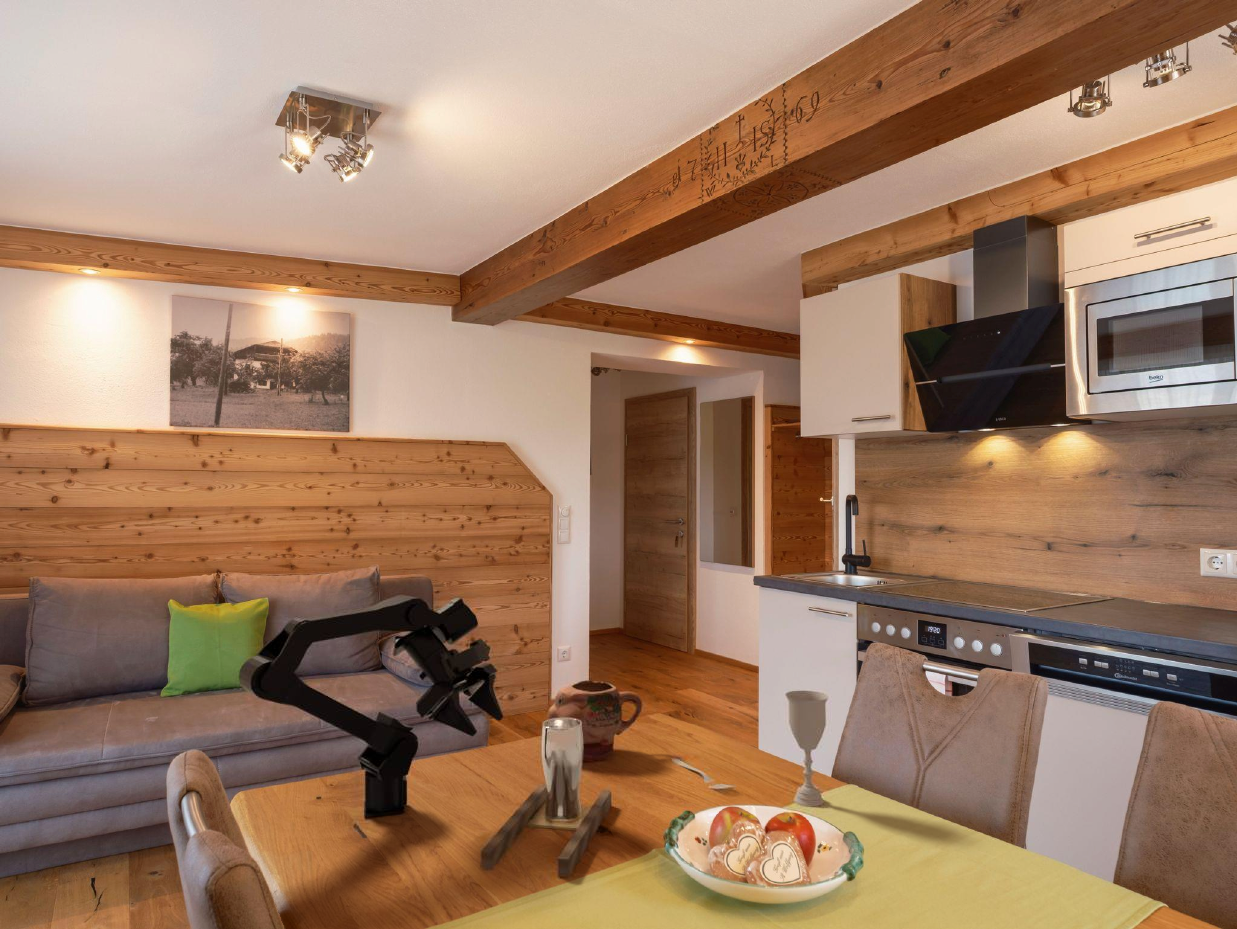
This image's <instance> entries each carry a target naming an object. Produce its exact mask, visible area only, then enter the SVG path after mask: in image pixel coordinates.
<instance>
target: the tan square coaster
mask: <svg viewBox="0 0 1237 929" xmlns="http://www.w3.org/2000/svg"><path fill="white" fill-rule="evenodd" d="M580 806H581V816H580V817H579V818H577V819H575V820H572V821H566V822H557V821H552V820H549V819H547V818H546V817H545V808H546V802H545V803H544V804H543V805H542V806H541V808H540V809H539V810H538V811H537V813H536V814H535V815H534V816H533V817H532V819H531V820H530V821H529V822H528V824H527V826H526V827H528V828H529V827H530V828H531V827H533V828H540V829H541V828H542V829H551V830H563V831H575V832H576V830H577V829H578V827H579V825H580V824H581V822H582V821H583V819H584V818H585V816H586V815H587V813H588V812H589V810H590V809H591V807H592V806H593V805H581V804H580Z"/></svg>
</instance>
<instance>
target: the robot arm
mask: <svg viewBox="0 0 1237 929" xmlns="http://www.w3.org/2000/svg"><path fill="white" fill-rule="evenodd" d="M478 627H479V622H478V617H477V616H476V614H475V613H474V612H473V611H472V609H471V608H470V607H469V606H468V605H467V604H465V603H464V600H463V599H462V598H460V597H453V599H451V600H450V601H449V602H448V603H447V604H446V605H443V607H441V608H440V609H438V610H437V611H436V610H432V609H430V607H429V605H428V604H427V602H426V601H425V600H424V599H423V598H419V597H415V596H409V595H404V594H398V595H396V596H395V595H394V596H393V597H390V598H389V597H388V598H386V599H384V600H381V601H379V602H378V603H376V604H375V605H371V606H369V607H366V608H365V607H364V608H358V609H353V610H345V611H339V612H333V613H329V614H322V615H314V616H309V617H295V618H293V619H291V620H290V621H289V620H288V622H287V623H286V625H285V626H284V627H283V628H282V629H281V630H280V632H279V633H278V634H276V635H275V636H274V637H273V638H271V639H270V640H269V641H268V642H267V643H266V644H264V645H263V647H262V648H261V649H260V650H259V651H258V653H257V654H256V655H255V656H252V657H250V658H248V659H247V660H246V661H245V662H244V663H243V664H242V665H241V667H240V670H239V672H238V681H239V685H240V687H241V688H243V689H244V690H245V691H246V692H248V693H250V694H252V695H253V696H255V697H257V698H259V699H261V700H265V701H268V702H272V703H275V704H279V705H284V706H289V707H294V708H297V709H299V710H300V711H303V712H306V713H307V714H309V715H311V716H313V717H315V718H317V719H319V720H321V721H323V722H325V723H328V724H329V725H331V726H333V727H336V728H337V729H339V730H341V731H343V732H345V733H348V734H349V735H351V736H354V737H356V738H357V739H358V740H359V741H360V742H361V743H362V744H363V745H365V748H364V749H363V751H362V752H361V753H360V754H359V756H358V757H357V761H358V764H359V766H360V769H362V770H364V803H363V805H364V806H363V816H364V818H372V817H373V818H374V817H379V816H380V817H381V816H387V815H396V814H403V813H405V806H407V805H408V779H407V776H408V774H409V772H410V769H411V766H412V764H413V759H414V758H415V756H416V755H417V752H418V749H419V741H418V740H419V738H418V736H417V734H415V733H414V732H412V730H413V728H414V727H413V726H411V725H408V724H407V723H404V722H402V721H400V720H398V719H397V718H395V717H393V716H390V715H388V714H386V713H385V712H382V711H378V713H377V716H376V718H374V717H369V716H367V715H365V714H363V713H361V712H359V711H357V710H355V709H353V708H351V707H349V706H347V705H345V704H344V703H341V702H340V701H337V700H336V699H333V698H332V697H330V696H329V695H326V694H325V693H322V692H321V691H319V690H316V689H314V688H313V687H311V686H309V685H308V684H307V683H306V682H304V681H303V679H302V678H301V677H300V676H299V675H297V674H296V673H295V672H296V671H297V669H298V668H299V666H300V665H301V663H302V661H303V659H304V656H305V655H306V653H307V651H308V649H309V648H310V647H311V645H312V644H313V643H317V642H318V643H319V642H324V641H328V640H334V639H339V638H344V637H345V638H346V637H351V636H355V635H363V634H366V633H367V634H368V633H372V632H379V631H381V632H382V631H385V632H387V631H388V632H408V633H406V634H404V635H395V636H394V639H393V651H392V656H393V657H396V656H398V655H400V654H401V653H402V652H404V651H405V652H406V654H407V655H408V656H409V657H410V658H411V660H412V661H413V662H414V663H415V665H416V666H417V667H418V668H419V670H420V671H421V673H420V674H419V675H418V677H419V678H420V679H421V681H424V680H428V681H429V682H430V683H431V686H430V687H429V688H428V689H427V690H426V691H424V693H423V695H422V696H420V698H418V700H417V701H415V711H416V712H417V714H418V715H419V716H420V717H421V719H422V720H423V719H427V717H428V719H427V720H429V721H435V722H439V723H441V724H443V725H446V726H448V727H451V728H453V729H455V730H457V731H460V732H462V733H464V734H466V735H468V736H470V737H474V736H475V735H477V734H478V731H477V728H476V727H475V725H474V724H473V722H472V721H471V719H470V718H469V716H468V714H467V713H466V711H465V710H464V709H463V707H462V706H461V704H460V703H461V701H460V694H461V693H462V694H463V695H465V696H467V697H469V698H468V701H470V702H471V703H472V704H473V705H475V706H477V707H478V708H479V709H480V710H482V711H483V712H485V713H486V714H488V715H489V717H491V718H493V719H495V720H496V721H498V722H500V721H502V720H503V718H504V715H503V712H502V709H501V707H500V704H499V702H498V699H497V697H496V694H495V690H494V684H495V680H496V679H497V673H498V670H497V669H496V667H494V665H493V664H492V663H490V662H489V663H488V662H487V661H489V660H491V657H490V655H489V654H490V650H491V646H490V645H488V644H487V643H486V642H485V641H484V640H483V639H482V638H479V639H476V640H474V641H472V642H470V643H469V648H467V649H464V650H462V651H460V652H459V651H458V650H457V649H454V648H452V649H450V650H449V649H448V648H447V646H446V645H445V644H446V643H447V644H448V645H452V646H453V645H454V644H455V643H457V642H459V641H460V640H461V639H463V638H464V637H466V636H467V635H468V634H470V633H471V632H473V631H474V630H476V629H477V628H478ZM483 662H484V663H483Z"/></svg>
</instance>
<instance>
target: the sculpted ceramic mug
mask: <svg viewBox="0 0 1237 929" xmlns="http://www.w3.org/2000/svg"><path fill="white" fill-rule="evenodd" d="M626 702H631V703H632V704H634V707H635V711H634V713H633V714H632V716H631V717H630V718H629V719H628V720H623V719H622V718H623V711H622V710H623V705H624V704H625V703H626ZM642 708H643V702H642V700H641V697H640V695H638V694H637V693H635V692H632V691H628V690H626V691H618V688H617V687H616V686H615V685H613V684H611V683H607V682H603V681H592V680H582V681H578V682H574V683H572V684H569V685H568V686H565V687H563V688H561V689H559V691H558V692H557V693H556V696H555V697H554V703H553V704H552V706H550V708H549V709H548V711H547V718H548V719H547V720H549V719H553V718H561V717H567V718H575V719H578V720H580V721H581V722H582V732H583V747H584V748H583V762H593V761H592V760H598V761H602V760H601V759H604V760H607V759H609V758H610V757H612V754H613V751H614V743H615V736H620V735H622V734H623V732H624V731H626V730H628V729H629V728H631V726H632V725H633V724H634V723H635V722H636V720H637V719H638V717H639V716H640V713H641V712H642ZM608 757H609V758H608ZM606 758H607V759H606Z"/></svg>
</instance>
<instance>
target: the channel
mask: <svg viewBox="0 0 1237 929" xmlns="http://www.w3.org/2000/svg"><path fill="white" fill-rule="evenodd" d="M546 802H547V787H546V785H541V784H539V785H537V786H536V788H535V789H534V790H533V791H532V792H531V793H530V794H529V795H528V797H527V798H526V799H525V801H524V802H523V803H521V805H520V806H519V807H518V808H517V809H516V810H515V812H514V813H513V814H512V815H511V816H510V817H509V818H508V819H507V821H506V822H505V823H504V824H503V825H502V826H501V828H500V829H499V830H498V831H497V832H496V833H495V834H494V836H493V837H492V838H491V839H490V840H489V841H488V843H487V844H485V846H484V847H483V848H482V849H481V850H480V870H492V869H493V868H494V867H495V866H496V864H497V863H498V862H499V860H500V859H501V858H502V857H503V855H505V853H506V852H507V850H508V849H509V848H510V847H511V846H512V845H513V843H514V842H515V841H516V839H517V838H518V837H519V836H520V835H521V833H522V832H523V831H524V830H525V828H526V827H528V826H527V824H528V822H529V821H530V820H531V819H532V817H533V816H534V815H535V814H536V813H537V811H538V810H539V809H540V808H541V806H542V805H543V804H544V803H546ZM591 806H592V807H591V809H590V810H589V812H588V813H587V815H586V816H585V818H584V819H583V821H582V822H581V824H580V825H579V827H578V829H577V830H576V831H575V832H574V833H573V835H572V836H571V837H570V839H569V841H568V843H567V844H566V845H565V847H564V849H562V852H561V853H560V855H559V856H558V857H557V877H558V878H559V877H560V878H570V876H571V874H572V872H573V871H574V869H575V867H576V865H577V864H578V862H579V861H580V859H581V858H582V855H583V854H584V852H585V851H586V848H587V847H588V846H589V844H590V842H591V840H592V839H593V837H594V835H595V834H596V832H597V831H598V829H599V827H600V825H601V824H602V822H603V820H604V819H605V817H606V815H607V814H608V811H609V810H610V808H611V807H612V790H607V789H602V790H601V792H600V793H599V795H598V797H597V798H596V800H595V801H594V802H593V804H592V805H591Z"/></svg>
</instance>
